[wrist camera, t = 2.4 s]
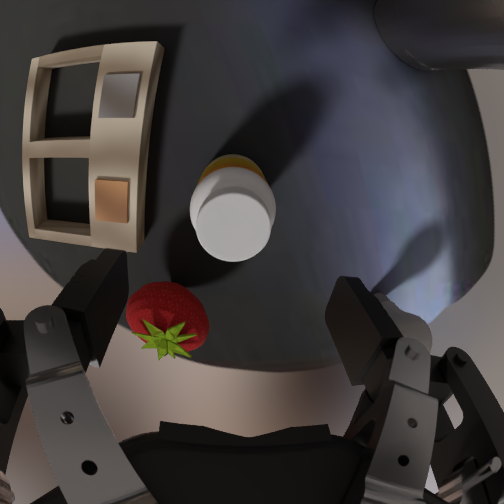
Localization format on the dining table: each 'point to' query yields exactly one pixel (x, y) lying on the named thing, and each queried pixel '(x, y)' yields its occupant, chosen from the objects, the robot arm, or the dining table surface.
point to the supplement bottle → (232, 208)
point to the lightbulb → (407, 322)
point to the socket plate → (96, 144)
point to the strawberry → (167, 318)
